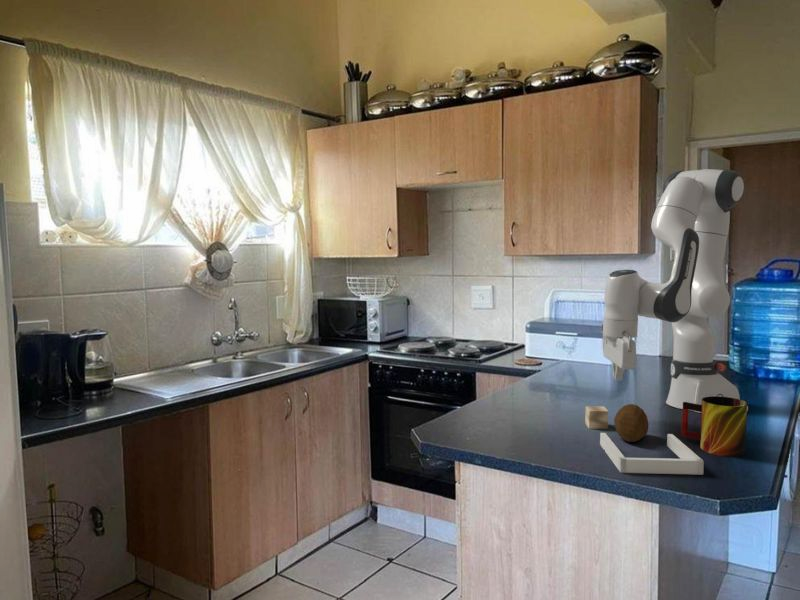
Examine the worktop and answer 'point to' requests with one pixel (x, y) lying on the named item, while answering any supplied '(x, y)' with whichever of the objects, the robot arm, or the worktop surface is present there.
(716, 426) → the mug
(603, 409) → the beech block
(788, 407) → the worktop surface
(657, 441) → the worktop surface
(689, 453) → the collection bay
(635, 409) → the potato
